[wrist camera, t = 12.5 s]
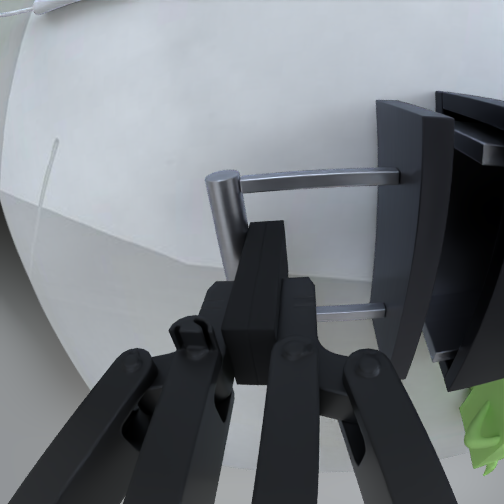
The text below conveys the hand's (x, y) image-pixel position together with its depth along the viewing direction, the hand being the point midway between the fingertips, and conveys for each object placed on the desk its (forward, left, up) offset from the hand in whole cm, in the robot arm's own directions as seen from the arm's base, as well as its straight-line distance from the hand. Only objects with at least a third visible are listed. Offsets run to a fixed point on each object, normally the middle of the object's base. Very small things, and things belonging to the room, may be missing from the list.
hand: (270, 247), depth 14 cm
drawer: (0, -9, -3) cm, 9 cm away
